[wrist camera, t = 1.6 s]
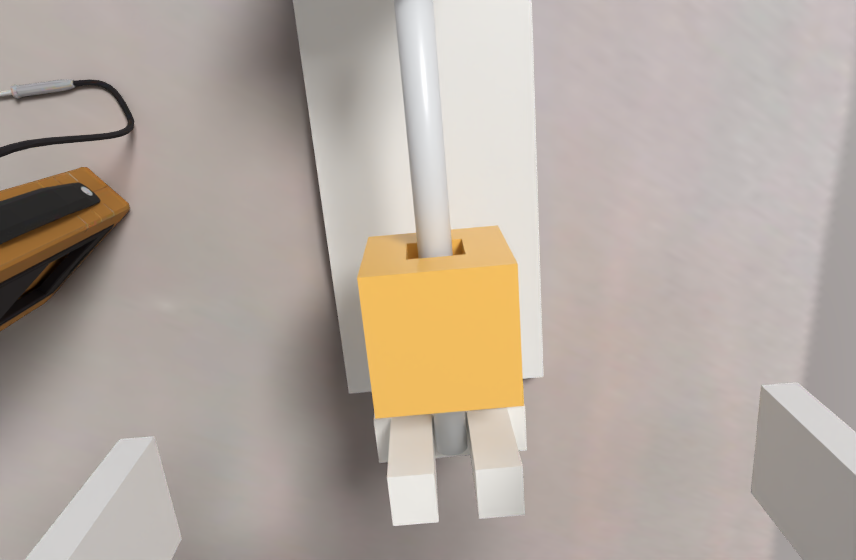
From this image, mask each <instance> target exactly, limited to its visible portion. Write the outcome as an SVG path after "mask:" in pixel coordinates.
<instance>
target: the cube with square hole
mask: <svg viewBox="0 0 856 560" xmlns="http://www.w3.org/2000/svg"><path fill="white" fill-rule="evenodd" d="M451 238H452V251H453V256H442V257H430V258H418V247H417V237H416V233H406V234H395V235H384V236H373V237H368V240H367V244H366V248H365V251H364V255H363V258H362V262H361V265H360V269H359V273H358V276H357V281H358V289H359V297H360V305H361V312H362V320H363V328H364V335H365V343H366V351H367V359H368V366H369V374H370V382H371V390H372V397H373V405H374V413H375V419H377V418H388V417H400V416H412V415H423V414H435V413H447V412H458V411H470V410H481V409H493V408H505V407H516V406H524V396H523V373H522V350H521V327H520V304H519V281H518V263H517V261H516V259H515V257H514V256H513V254H512V252H511V250H510V248H509V246H508V244H507V242H506V240H505V238H504V236H503V234H502V232H501V230H500V228H499V226H498V225H496V226H485V227H474V228H462V229H451Z"/></svg>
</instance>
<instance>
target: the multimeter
mask: <svg viewBox="0 0 856 560" xmlns="http://www.w3.org/2000/svg"><path fill="white" fill-rule="evenodd" d="M82 85H97V86H101V87H103V88H105V89H107V90H108V91H110V92H111V93H112V94H113V95H114V97H115V98H116V99H117V101H118V102H119V104H120V105H121V107H122V109H123V111H124V113H125V115H126V117H127V120H128V125H127V126H126V127H125V128H124V129H122V130H119V131H115V132H110V133H103V134H93V135H79V136H65V137H51V138H42V139H34V140H26V141H22V142H18V143H14V144H9V145H6V146H3V147H0V157H3V156H5V155H8V154H11V153H13V152H17V151H21V150H24V149H28V148H32V147H39V146H46V145H53V144H63V143H74V142H85V141H96V140H104V139H112V138H116V137H121V136H124V135H126V134H128V133H129V132H130V131H131V130H132V129H133V127H134V119H133V117H132V114H131V112H130V110H129V108H128V106H127V104H126V103H125V101H124V100H123V98H122V96H121V95H120V94H119V93H118V91H117V90H116V89H115V88H113V87H112V86H111V85H109V84H107V83H105V82H102V81H99V80H79V81H74V80H56V81H48V82H41V83H34V84H27V85H19V86H17V85H12V86H11V90H8V91H1V92H0V96H6V95H13V96H14V97H15V98H16V99H19V98H21V97H23V96H31V95H38V94H45V93H52V92H60V91H66V90H69V89H72V88H75V87H76V86H82ZM129 209H130V207H129V203H127V202H126V201H125V200H124V199H123V198H122V197H121V196H119V195H118V194H117V193H116V192H115V191H114V190H112V189H111V188H110V187H109V186H108V185H107V184H106V183H104V182H103V181H102V180H101V179H100V178H99V177H98V176H96V175H95V174H94V173H93V172H92V171H91V170H90V169H88V168H87V167H81V168H78V169H75V170H72V171H68V172H65V173H61V174H58V175H54V176H51V177H47V178H44V179H40V180H37V181H34V182H30V183H26V184H23V185H19V186H16V187H12V188H9V189H5V190H2V191H0V331H2V330H3V329H5V328H7V327H8V326H10V325H11V324H13V323H14V322H16V321H17V320H19V319H21V318H22V317H23V316H25V315H27V314H28V313H30V312H31V311H33V310H35V309H36V308H38V307H39V306H41V305H43V304H44V303H45V302H46V301H47V300H48V299H49V298H51V297H52V295H53V294H54V293H55V292H56V291H57V290H58V289H59V288H60V286H61V285H62V284H63V283H64V282H65V281H66V279H67V278H68V277H69V276H70V275H71V274H72V273H73V272H74V271H75V269H76V268H77V267H78V266H79V265H80V264H81V263H82V262H83V261H84V259H85V258H86V257H87V256H88V255H89V254H90V253H91V252H92V251H93V249H94V248H95V247H96V246H97V245H98V244H99V243H100V242H101V241H102V239H103V238H104V237H105V236H106V235H107V234H108V233H109V232H110V231H111V230H112V228H113V227H114V226H115V225H116V224H117V223H118V222H119V221H120V220H121V219H122V218H123V217H124V216H125V215H126V213H127V212H128V211H129Z"/></svg>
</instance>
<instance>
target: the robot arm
mask: <svg viewBox="0 0 856 560" xmlns="http://www.w3.org/2000/svg"><path fill="white" fill-rule="evenodd" d="M751 493H752V494H753V496H754V497H755V498H756V500H757V501H758V502H759V504H760V505H761V506H762V507H763V509H764V510H765V511H766V513H767V514H768V515H769V517H770V518H771V519H772V521H773V522H774V523H775V524H776V526H777V527H778V528H779V530H780V531H781V532H782V534H783V535H784V536H785V537H786V539H787V540H788V541H789V543H790V544H791V545H792V546H793V548H794V549H795V550H796V552H797V553H798V554H799V556H800V557H801V558H802V560H856V432H855V431H854V430H853V429H851V428H850V427H849V426H848V425H847V424H845V423H844V422H843V421H842V420H841V419H839V418H838V417H837V416H836V415H835V414H834V413H832V412H831V411H830V410H829V409H828V408H827V407H826V406H824V405H823V404H822V403H821V402H820V401H818V400H817V399H816V398H815V397H814V396H813V395H811V394H810V393H809V392H808V391H807V390H806V389H804V388H803V387H802V386H801V385H800V384H799V383H797V382H795V383H783V384H771V385H761V392H760V403H759V413H758V423H757V433H756V444H755V454H754V464H753V474H752V484H751ZM181 539H182V538H181V534H180V530H179V526H178V523H177V519H176V515H175V511H174V508H173V504H172V500H171V496H170V493H169V489H168V485H167V481H166V478H165V474H164V470H163V466H162V463H161V459H160V455H159V451H158V448H157V444H156V440H155V436H151V437H139V438H128V439H119V441H118V442H117V443H116V444H115V446H114V447H113V448H112V449H111V451H110V452H109V453H108V455H107V456H106V457H105V458H104V460H103V461H102V462H101V463H100V465H99V466H98V467H97V469H96V470H95V471H94V472H93V474H92V475H91V476H90V477H89V479H88V480H87V481H86V483H85V484H84V485H83V486H82V488H81V489H80V490H79V491H78V493H77V494H76V495H75V497H74V498H73V499H72V500H71V502H70V503H69V504H68V505H67V507H66V508H65V509H64V511H63V512H62V513H61V514H60V516H59V517H58V518H57V519H56V521H55V522H54V523H53V525H52V526H51V527H50V528H49V530H48V531H47V532H46V533H45V535H44V536H43V537H42V539H41V540H40V541H39V542H38V544H37V545H36V546H35V547H34V549H33V550H32V551H31V553H30V554H29V555H28V556H27V558H26V559H25V560H171V559H172V557H173V555H174V553H175V551H176V549H177V547H178V545H179V543H180V541H181Z"/></svg>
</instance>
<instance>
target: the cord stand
mask: <svg viewBox="0 0 856 560" xmlns="http://www.w3.org/2000/svg"><path fill="white" fill-rule="evenodd" d="M293 6H294V13H295V20H296V27H297V34H298V41H299V48H300V55H301V62H302V69H303V76H304V83H305V90H306V97H307V104H308V111H309V118H310V125H311V132H312V139H313V146H314V153H315V160H316V167H317V174H318V181H319V188H320V195H321V202H322V209H323V216H324V223H325V230H326V237H327V244H328V251H329V258H330V265H331V272H332V279H333V286H334V293H335V300H336V307H337V314H338V321H339V328H340V335H341V342H342V349H343V356H344V363H345V370H346V377H347V384H348V391H349V394H351V393H362V392H372V390H371V382H370V374H369V366H368V359H367V351H366V343H365V335H364V328H363V320H362V312H361V305H360V297H359V289H358V281H357V276H358V273H359V269H360V265H361V262H362V258H363V255H364V251H365V248H366V244H367V240H368V237H373V236H384V235H395V234H406V233H416V237H417V247H418V258H430V257H442V256H453V251H452V238H451V229H462V228H474V227H485V226H496V225H498V226H499V228H500V230H501V232H502V234H503V236H504V238H505V240H506V242H507V244H508V246H509V248H510V250H511V252H512V254H513V256H514V257H515V259H516V261H517V263H518V281H519V304H520V327H521V350H522V373H523V379H524V378H536V377H543V345H542V314H541V282H540V250H539V219H538V187H537V156H536V124H535V92H534V61H533V29H532V0H293ZM374 428H375V435H376V443H377V451H378V458H379V463H385V462H388V470H387V482H388V490H389V498H390V505H391V513H392V521H393V526H399V525H411V524H423V523H435V522H439V514H438V495H437V475H436V458H444V457H456V456H467V455H470V458H471V465H472V472H473V479H474V487H475V494H476V501H477V508H478V515H479V519H483V518H494V517H506V516H518V515H525V506H524V485H523V465H522V462H521V458H520V454H519V451H526V450H527V443H526V419H525V405H524V406H516V407H505V408H493V409H481V410H470V411H458V412H447V413H435V414H423V415H412V416H400V417H388V418H377V419H375V413H374Z"/></svg>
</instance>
